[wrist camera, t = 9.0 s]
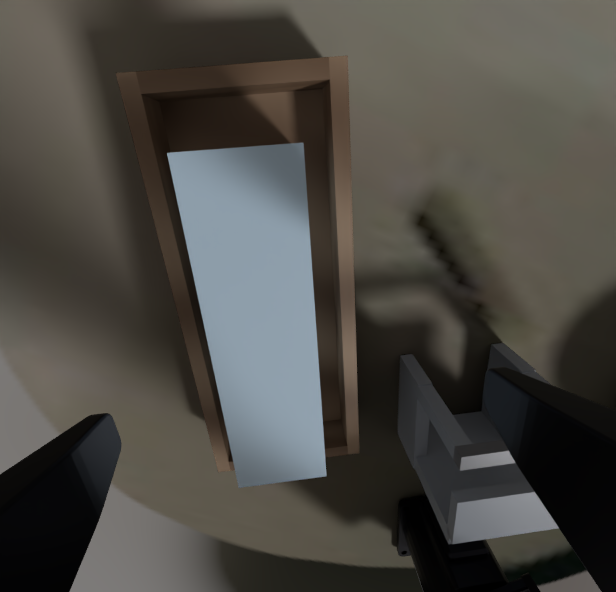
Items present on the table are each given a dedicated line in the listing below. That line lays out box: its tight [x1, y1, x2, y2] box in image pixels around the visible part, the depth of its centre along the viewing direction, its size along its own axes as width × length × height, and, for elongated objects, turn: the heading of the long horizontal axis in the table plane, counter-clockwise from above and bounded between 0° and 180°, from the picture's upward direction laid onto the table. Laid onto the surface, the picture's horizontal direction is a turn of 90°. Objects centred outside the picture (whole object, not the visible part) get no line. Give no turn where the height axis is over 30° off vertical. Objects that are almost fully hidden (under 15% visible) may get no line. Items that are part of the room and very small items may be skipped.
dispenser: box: [398, 343, 559, 544], centre depth 20 cm, size 6×7×8 cm
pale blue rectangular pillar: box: [167, 143, 326, 488], centre depth 16 cm, size 14×4×6 cm, turn 4°
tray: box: [116, 56, 359, 472], centre depth 18 cm, size 20×8×3 cm, turn 5°
